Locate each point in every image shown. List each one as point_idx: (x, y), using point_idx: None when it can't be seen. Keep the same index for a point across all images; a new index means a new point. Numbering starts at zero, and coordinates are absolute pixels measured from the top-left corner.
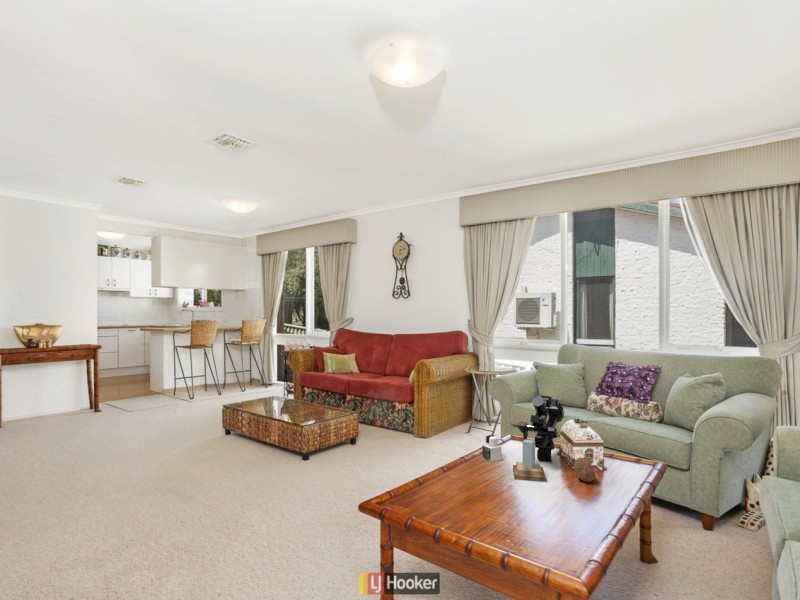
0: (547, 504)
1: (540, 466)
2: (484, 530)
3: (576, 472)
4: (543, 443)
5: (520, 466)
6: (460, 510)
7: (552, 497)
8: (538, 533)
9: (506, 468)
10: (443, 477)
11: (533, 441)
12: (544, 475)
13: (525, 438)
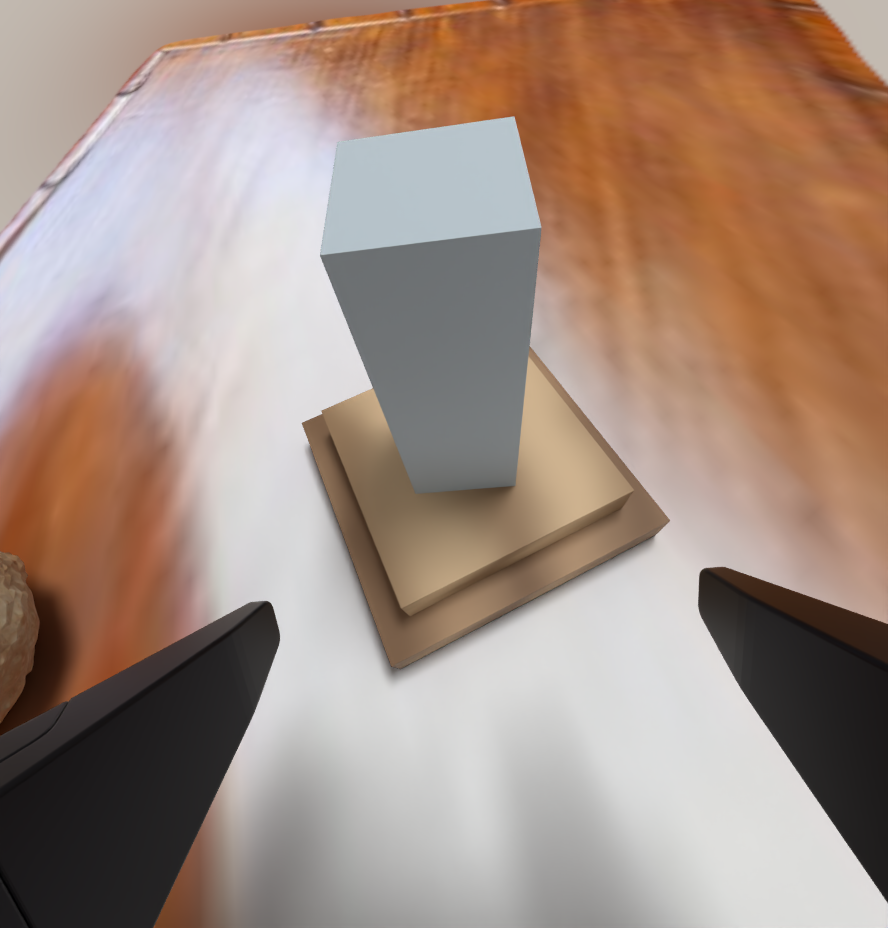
0: (261, 222)
1: (366, 519)
2: (400, 44)
3: (21, 581)
4: (231, 625)
5: (527, 404)
6: (524, 59)
7: (248, 282)
8: (262, 96)
9: (706, 510)
10: (849, 160)
11: (338, 207)
12: (320, 450)
13: (774, 613)
